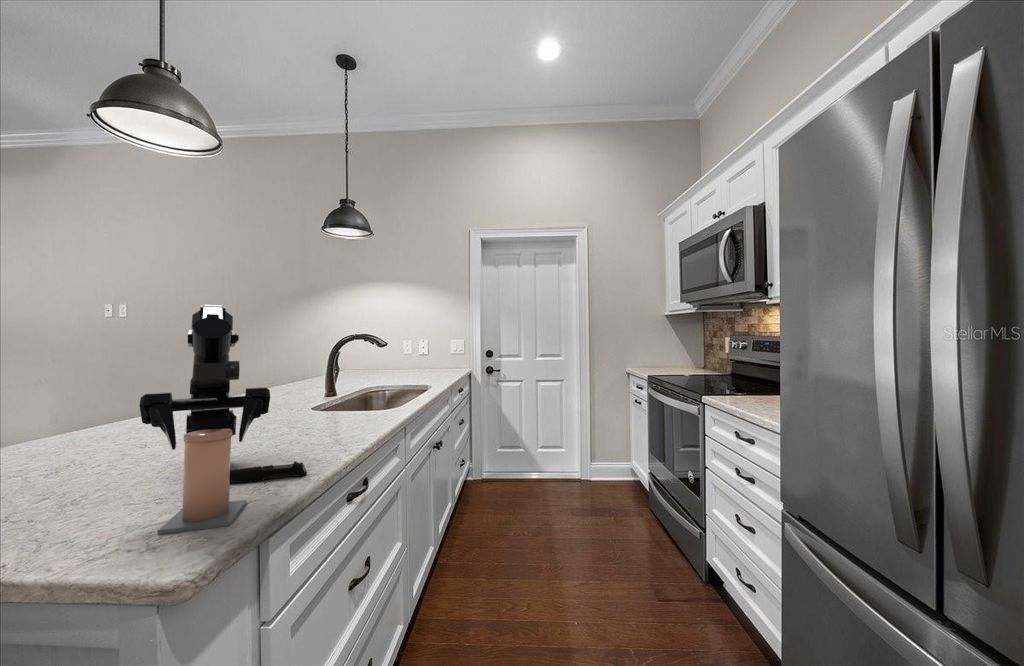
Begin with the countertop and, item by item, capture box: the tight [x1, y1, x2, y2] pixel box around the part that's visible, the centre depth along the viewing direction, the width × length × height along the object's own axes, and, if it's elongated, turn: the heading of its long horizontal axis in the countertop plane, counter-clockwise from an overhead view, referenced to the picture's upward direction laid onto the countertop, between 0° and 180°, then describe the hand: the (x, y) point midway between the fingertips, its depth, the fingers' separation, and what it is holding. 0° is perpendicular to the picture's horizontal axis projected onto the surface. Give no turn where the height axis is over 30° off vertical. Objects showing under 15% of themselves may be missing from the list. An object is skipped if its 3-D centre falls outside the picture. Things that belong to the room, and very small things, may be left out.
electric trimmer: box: [230, 460, 307, 483], centre depth 83 cm, size 4×16×3 cm, turn 114°
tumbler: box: [182, 429, 233, 522], centre depth 65 cm, size 6×6×13 cm
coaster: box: [157, 499, 248, 535], centre depth 65 cm, size 9×9×1 cm
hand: (208, 444), depth 69 cm, fingers open, 9 cm apart
